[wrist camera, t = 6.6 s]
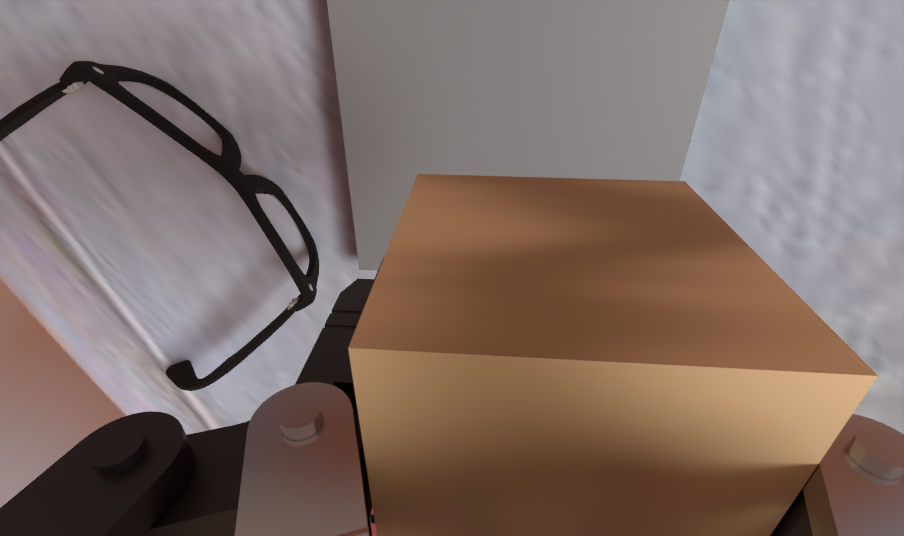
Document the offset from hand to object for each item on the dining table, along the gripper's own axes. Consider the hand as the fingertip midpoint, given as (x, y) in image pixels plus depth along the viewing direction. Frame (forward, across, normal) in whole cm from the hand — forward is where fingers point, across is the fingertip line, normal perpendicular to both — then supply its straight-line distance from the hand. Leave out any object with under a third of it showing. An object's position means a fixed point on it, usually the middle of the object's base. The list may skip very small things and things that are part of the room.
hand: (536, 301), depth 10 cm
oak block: (0, 0, 0) cm, 0 cm away
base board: (+15, 0, 0) cm, 15 cm away
